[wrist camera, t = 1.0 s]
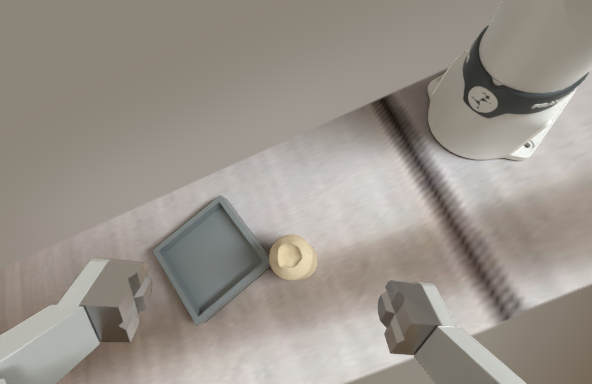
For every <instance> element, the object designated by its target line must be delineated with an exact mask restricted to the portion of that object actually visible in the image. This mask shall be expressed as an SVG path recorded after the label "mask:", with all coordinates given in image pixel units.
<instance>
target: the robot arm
mask: <svg viewBox="0 0 592 384" xmlns="http://www.w3.org/2000/svg"><path fill="white" fill-rule="evenodd" d="M591 69H592V0H502V2H501V5H500V6H499V9H498V10H497V12H496V14H495V16H494V18H493V20H492V21H491V23H490V25H488V26H487V27H486V28H485V29H484V30H483V31H482V32H481V34H480V35H479V37H478V38H477V39H476V40H475V41H474V43H473V44H472V46H471V48H470V50H469V49H468V50H466V51H465V52H464V53H463V54H462V55H461V56H460V57H456V58H455V59H454V60H453V61H452V63H451V64H450V66H449V67H448V69H447V71H446V72H445V74H443V75H441V76H439V77H437V78H436V79H434V80H432V81H431V82H430V84H429V85H428V87H427V91H428V95H429V99H430V106H429V110H428V123H429V127H430V129H431V132H432V134H433V135H434V137H435V138H436V139H437V141H438V142H439V143H440V144H441V145H442V146H444V147H445V148H446V149H448V150H449V151H451V152H453V153H455V154H457V155H459V156H462V157H465V158H469V159H476V160H487V159H495V158H507V159H511V160H518V161H523V160H526V159H528V158H529V157H530V156H531V155H532V154H533V152H534V151H535V149H536V148H537V146H538V145H539V143H540V142H541V141H542V139H543V138H544V136H545V135H546V133H547V132H548V130H549V129H550V128H551V126H552V125H553V123H554V122H555V120H556V119H557V117H558V116H559V115H560V113H561V112H562V110H563V109H564V107H565V106H566V104H567V103H568V102H569V100H570V99H571V97H572V96H573V94H574V93H575V91H576V88H577V87H578V86H579V85H580V84H581V83H582V81H583V80H584V79H585V78H586V76H587V75H588V73H589V71H590V70H591ZM524 145H526V146H527V148H526V147H525V146H524ZM148 271H149V267H148V263H145V262H135V261H125V260H115V259H103V258H94V259H92V260H91V261H89V262H88V264H87V265H86V266H85V268H84V269H83V270H82V272H81V273H80V274H79V276H78V277H77V278H76V280H75V281H74V282H73V284H72V285H71V286H70V288H69V289H68V290H67V292H66V293H65V294H64V296H63V297H62V298H61V300H60V301H59V302H58V304H57V305H49V306H48V307H46V308H44V309H43V310H41V311H39V312H38V313H36V314H35V315H33V316H31V317H30V318H28V319H26V320H25V321H23V322H21V323H20V324H18V325H16V326H15V327H13V328H11V329H10V330H8V331H6V332H5V333H3V334H1V335H0V384H56V383H57V382H58V381H59V380H61V379H62V378H63V377H64V376H65V375H66V374H67V373H68V372H69V371H71V370H72V369H73V368H74V367H75V366H76V365H77V364H78V363H79V362H81V361H82V360H83V359H84V358H85V357H86V356H87V355H88V354H89V353H90V352H92V351H93V350H94V349H95V348H96V347H97V346H98V345H99V344H100V342H126V343H130V342H131V340H132V338H133V336H134V333H135V331H136V329H137V327H138V325H139V322H140V320H139V316H138V314H139V313H140V312H142V311H143V310H144V309H145V308H146V307H147V304H148V302H149V300H150V296H151V292H152V281H151V278H149V277H148V276H147V273H148ZM385 287H386V290H387V291H386V292H385V293H383V294H381V296H380V298H379V300H378V314H379V318H380V321H381V322H382V323H383V324H384V326H385V327H386V331H385V333H384V334H385V338H386V341H387V344H388V347H389V351H390V353H391V354H405V355H415V356H414V357H415V359H416V360H417V361H418V362H419V364H420V365H421V366H422V367H423V369H424V370H425V371H426V372H427V374H428V375H429V376H430V377H431V379H432V380H433V381H434V382H435V384H526V383H525V382H524V381H523V380H521V379H520V378H519V377H518V376H517V375H515V374H514V373H513V372H512V371H511V370H510V369H509V368H508V367H507V366H505V365H504V364H503V363H502V362H501V361H499V360H498V359H497V358H496V357H495V356H494V355H493V354H491V353H490V352H489V351H488V350H487V349H486V348H484V347H483V346H482V345H481V344H480V343H479V342H478V341H476V340H475V339H474V338H473V337H472V336H471V335H469V334H468V333H467V332H466V331H465V330H464V329H463V328H461V327H457V326H456V324H455V322H454V320H453V319H452V317H451V315H450V313H449V311H448V309H447V307H446V306H445V304H444V302H443V300H442V298H441V296H440V294H439V293H438V291H437V289H436V287H435V286H434V285H433V284H432V283H421V282H411V281H395V280H391V281H389V282H388V283H387V285H386V286H385Z"/></svg>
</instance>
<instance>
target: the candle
mask: <svg viewBox="0 0 592 384" xmlns="http://www.w3.org/2000/svg"><path fill="white" fill-rule="evenodd" d="M269 262H270V266H271V268H272V270H273V271H274V273H275V274H276V275H277V276H279V277H280V278H282V279H285V280H302V279H306V278H308V277H310V276H311V275H312V274H313V273H314V272H315V270H316V268H317V264H318V258H317V254H316V252H315V250H314V249H313V248H312V247H311V246H310V244H309V243H308V242H307V241H306V240H305V239H303V238H302V237H300V236H297V235H286V236H283V237H281V238H279V239H278V240H277V241H276V242H275V243H274V244H273V246H272V248H271V250H270V254H269Z"/></svg>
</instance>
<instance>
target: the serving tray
mask: <svg viewBox="0 0 592 384" xmlns="http://www.w3.org/2000/svg"><path fill="white" fill-rule="evenodd" d="M152 251H153V253H154V254H155V256H156V258H157V260H158V261H159V263H160V265H161V266H162V268H163V270H164V271H165V273H166V275H167V277H168V278H169V280H170V282H171V283H172V285H173V287H174V288H175V290H176V292H177V293H178V295H179V297H180V299H181V300H182V302H183V304H184V305H185V307H186V309H187V310H188V312H189V314H190V316H191V317H192V319H193V321H194V322H195V324H196V325H199V324H202V323H205V322H207V321H208V320H209V319H210V318H211V317H212V316H214V315H215V314H216V313H217V312H218V311H220V310H221V309H222V308H223V307H224V306H225V305H227V304H228V303H229V302H230V301H231V300H232V299H234V298H235V297H236V296H237V295H238V294H239V293H241V292H242V291H243V290H244V289H245V288H247V287H248V286H249V285H250V284H251V283H252V282H254V281H255V280H256V279H257V278H258V277H259V276H261V275H262V274H263V273H264V272H265V271H267V270H268V269H269V268H270V267H271V266H270V262H269V254H268V253H267V252H266V250H265V249H264V248H263V246H262V245H261V244H260V242H259V241H258V240H257V239H256V237H255V236H254V235H253V233H252V232H251V231H250V229H249V228H248V227H247V225H246V224H245V223H244V221H243V220H242V219H241V217H240V216H239V215H238V213H237V212H236V211H235V209H234V208H233V207H232V205H231V204H230V203H229V201H228V200H227V199H226V198H224V197H223V196H221V195H220V196H218V197H217V198H216V199H215V200H214V201H212V202H211V203H210V204H209V205H207V206H206V207H205V208H204V209H202V210H201V211H200V212H199V213H197V214H196V215H195V216H194V217H193V218H191V219H190V220H189V221H188V222H186V223H185V224H184V225H183V226H181V227H180V228H179V229H178V230H177V231H175V232H174V233H173V234H172V235H170V236H169V237H168V238H167V239H165V240H164V241H163V242H162V243H160V244H159V245H158V246H157V247H156V248H154V249H153V250H152Z"/></svg>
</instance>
